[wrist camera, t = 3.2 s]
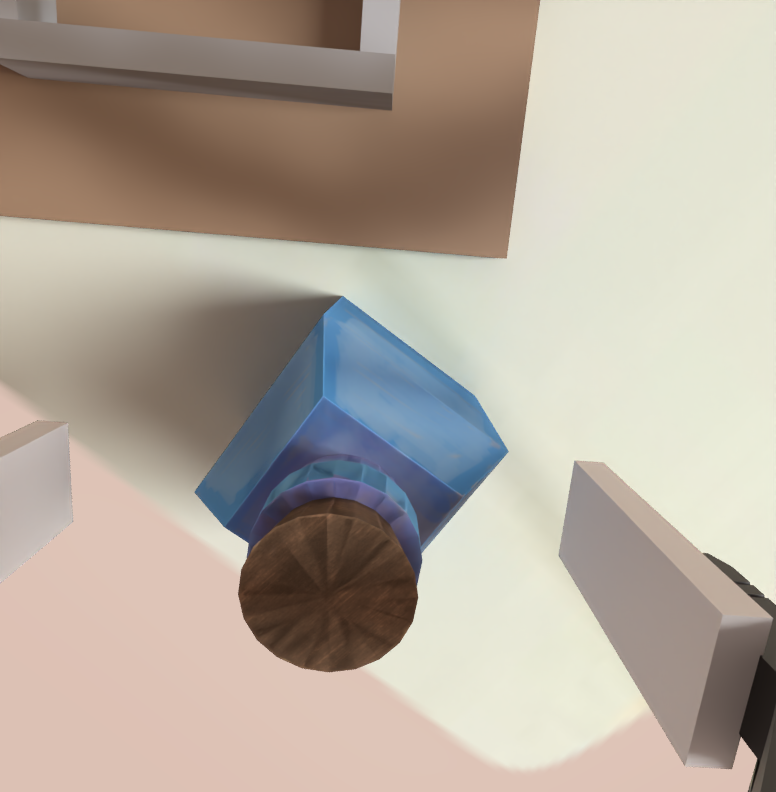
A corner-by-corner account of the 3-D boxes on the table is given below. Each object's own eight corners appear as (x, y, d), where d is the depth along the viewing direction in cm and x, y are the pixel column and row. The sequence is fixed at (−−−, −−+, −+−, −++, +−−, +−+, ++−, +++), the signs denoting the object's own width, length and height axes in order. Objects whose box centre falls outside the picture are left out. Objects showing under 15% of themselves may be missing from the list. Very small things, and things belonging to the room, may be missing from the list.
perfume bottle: (342, 295, 21) (283, 352, 9) (474, 396, 21) (577, 565, 10) (248, 425, 22) (85, 625, 10) (377, 515, 23) (364, 792, 11)
